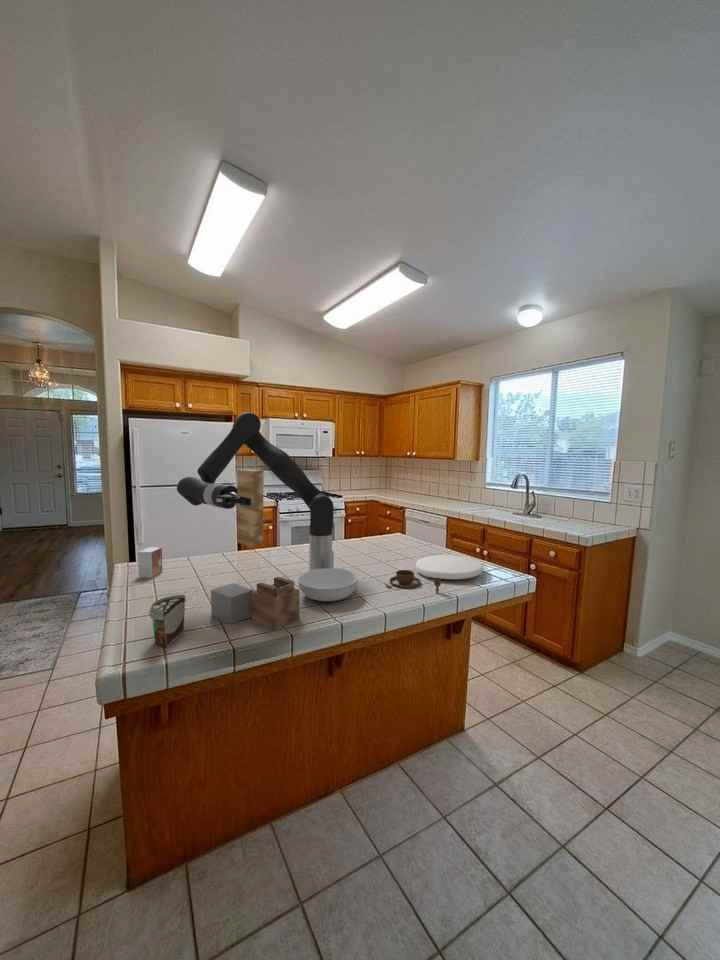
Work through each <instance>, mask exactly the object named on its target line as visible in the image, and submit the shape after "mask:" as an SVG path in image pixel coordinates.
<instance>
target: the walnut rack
mask: <svg viewBox="0 0 720 960" xmlns="http://www.w3.org/2000/svg"><path fill="white" fill-rule="evenodd" d="M251 612H252V616H251V622H253V623H255V624H258V625H260V626H262V627H264V628H267V629H270V630H271V631H274V630H275V631H277V630H278V628H279V629H281V628H283V627H284V625H285V626H286V624H287V625H288V623H289V624H291V623H293V622H295V621H297V620H300V588H299V589H298V588H295V580H291V579H289V578H288V579H287V578H284V577H280V576H276V577H274V578H273V583H272V584H269V583H268V584H267V583H265V582H259V583H256V590H253V591H252V592H251ZM292 621H293V622H292ZM290 622H291V623H290ZM282 626H283V627H282ZM280 627H281V628H280ZM276 629H277V630H276Z"/></svg>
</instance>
